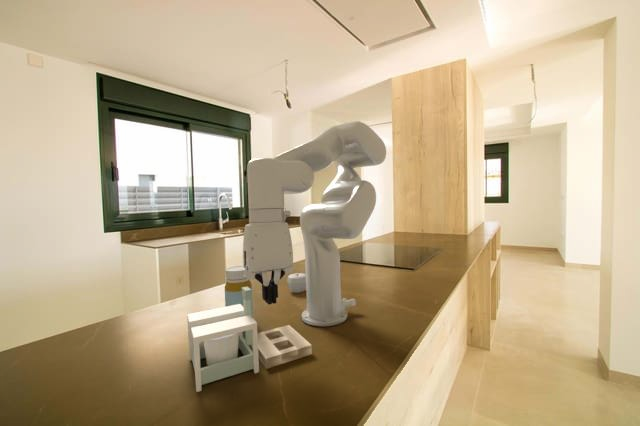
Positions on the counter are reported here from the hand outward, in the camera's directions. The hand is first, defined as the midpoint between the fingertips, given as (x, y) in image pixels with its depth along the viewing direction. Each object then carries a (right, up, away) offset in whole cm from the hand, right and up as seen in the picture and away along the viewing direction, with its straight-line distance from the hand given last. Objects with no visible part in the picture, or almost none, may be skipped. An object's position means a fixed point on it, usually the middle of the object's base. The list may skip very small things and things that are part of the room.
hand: (270, 302), depth 63 cm
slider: (-9, -11, -5) cm, 15 cm away
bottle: (-11, -11, +15) cm, 22 cm away
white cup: (-9, -11, -5) cm, 15 cm away
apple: (+3, -9, +42) cm, 44 cm away
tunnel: (-9, -11, -5) cm, 15 cm away
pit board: (+2, -11, +1) cm, 11 cm away
